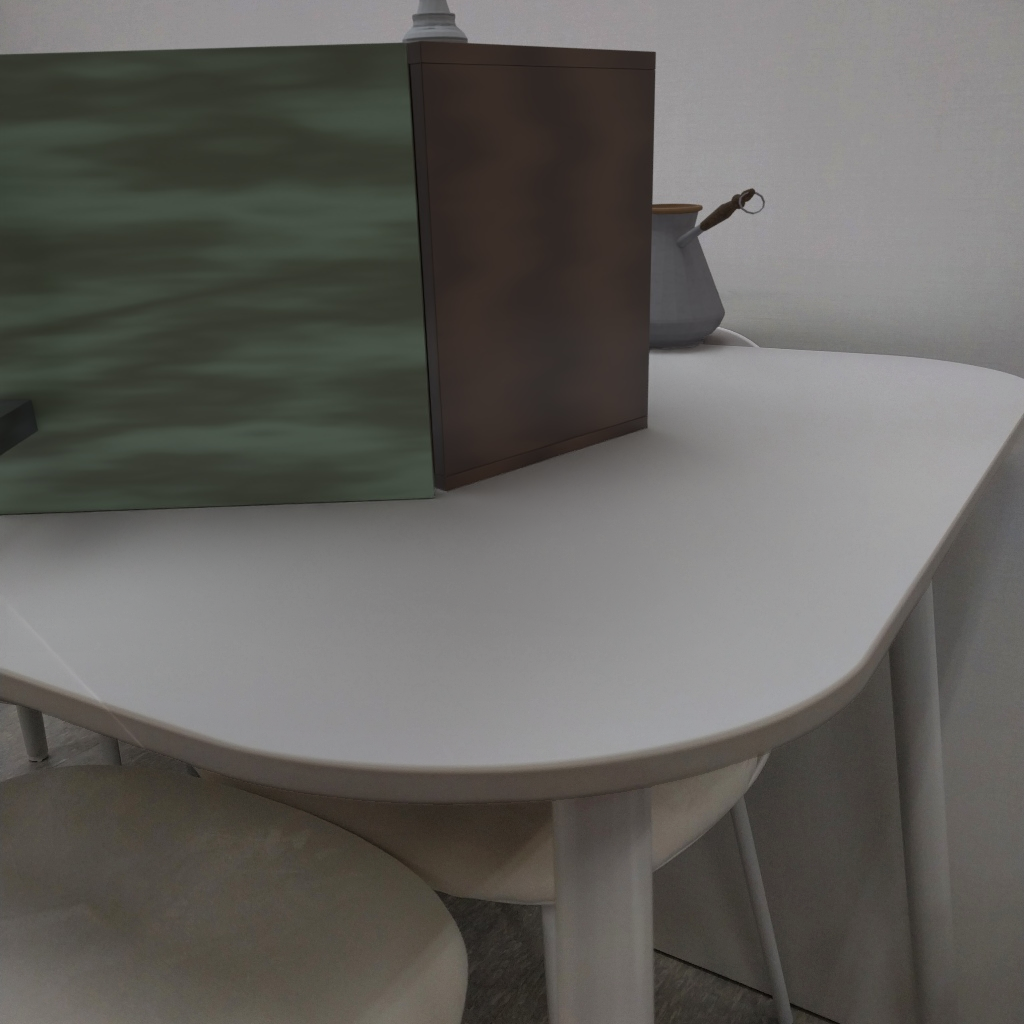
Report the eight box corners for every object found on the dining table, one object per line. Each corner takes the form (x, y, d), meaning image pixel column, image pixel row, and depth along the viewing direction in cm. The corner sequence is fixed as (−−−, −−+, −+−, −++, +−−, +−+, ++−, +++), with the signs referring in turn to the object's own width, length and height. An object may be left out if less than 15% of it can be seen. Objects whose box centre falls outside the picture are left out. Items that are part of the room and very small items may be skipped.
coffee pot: (589, 335, 100) (589, 182, 94) (690, 326, 103) (695, 177, 97) (683, 381, 81) (690, 191, 75) (803, 368, 84) (818, 185, 78)
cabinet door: (428, 545, 49) (394, 27, 41) (-88, 565, 49) (-233, 45, 40) (435, 491, 57) (407, 44, 48) (-12, 508, 56) (-120, 60, 48)
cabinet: (446, 493, 57) (420, 40, 48) (238, 413, 75) (192, 74, 66) (647, 429, 68) (656, 51, 59) (424, 373, 86) (405, 78, 77)
